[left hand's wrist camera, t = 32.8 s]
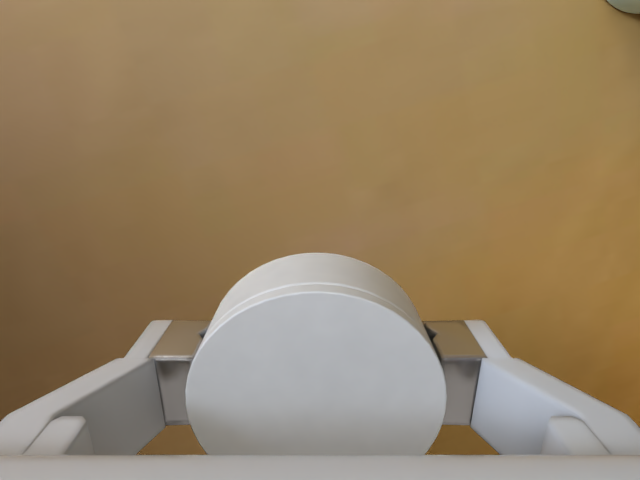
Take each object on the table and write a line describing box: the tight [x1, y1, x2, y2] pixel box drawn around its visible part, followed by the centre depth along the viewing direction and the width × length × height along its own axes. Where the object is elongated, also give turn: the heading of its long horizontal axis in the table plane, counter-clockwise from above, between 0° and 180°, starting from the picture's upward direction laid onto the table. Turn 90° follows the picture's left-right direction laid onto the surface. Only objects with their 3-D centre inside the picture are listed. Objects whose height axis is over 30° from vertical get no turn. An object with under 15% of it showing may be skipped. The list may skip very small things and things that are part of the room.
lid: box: [186, 253, 447, 455], centre depth 9 cm, size 5×5×2 cm
